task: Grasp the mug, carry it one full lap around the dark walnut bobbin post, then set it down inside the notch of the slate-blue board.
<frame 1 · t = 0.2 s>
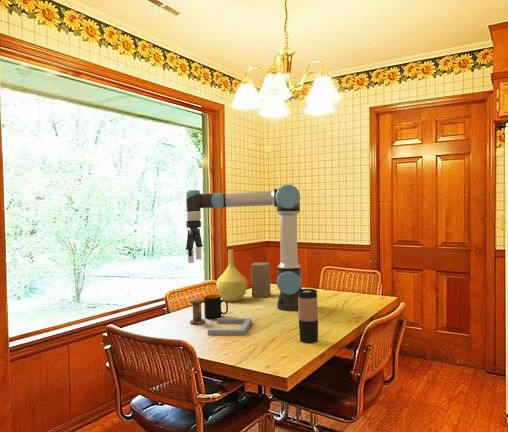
hand: (195, 261, 217), 27 cm above the table, fingers open, 13 cm apart
bobbin post: (197, 322, 199), on the table
notch board: (230, 328, 188), on the table
wooden block: (261, 296, 256), on the table
travel mug: (308, 341, 167), on the table
mug: (216, 317, 208), on the table
vase: (232, 300, 248), on the table
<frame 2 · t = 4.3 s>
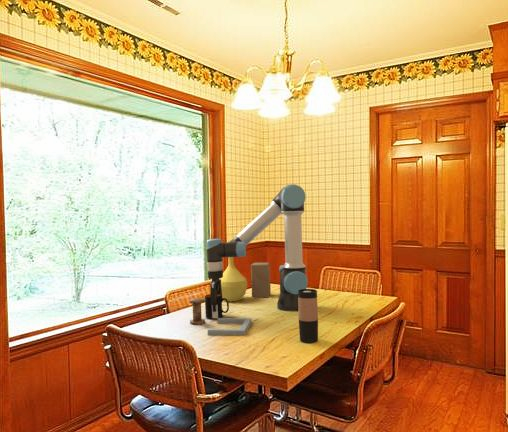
hand: (217, 315, 208), 1 cm above the table, fingers closed on mug, 8 cm apart
mug: (217, 316, 208), on the table, touching gripper
everything else where it was.
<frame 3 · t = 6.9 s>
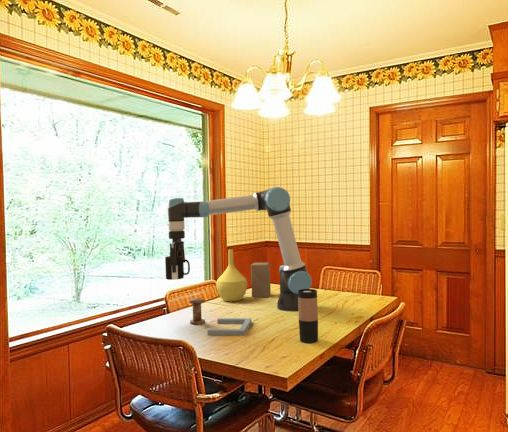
hand: (178, 277, 200), 22 cm above the table, fingers closed on mug, 8 cm apart
mug: (178, 278, 200), point 21 cm above the table, touching gripper
everything else where it was.
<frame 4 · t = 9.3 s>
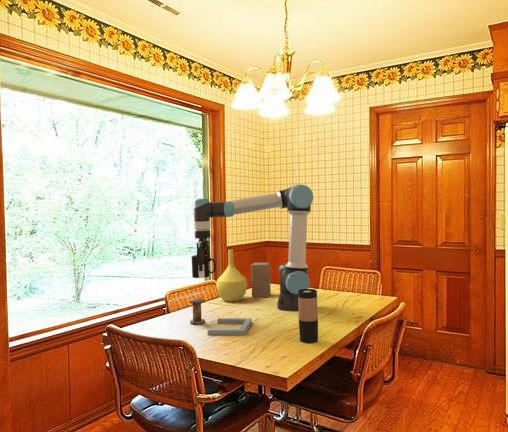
hand: (204, 276, 205), 21 cm above the table, fingers closed on mug, 8 cm apart
mug: (204, 277, 205), point 21 cm above the table, touching gripper
everything else where it was.
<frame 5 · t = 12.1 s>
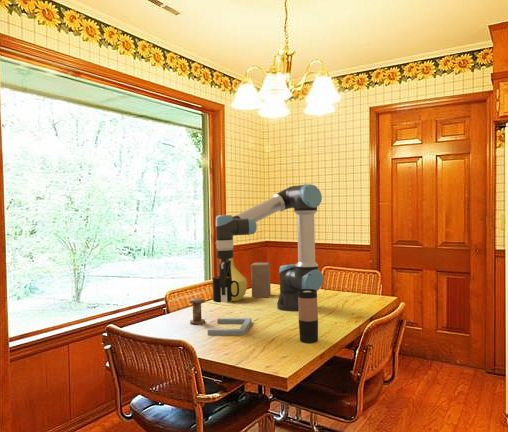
hand: (226, 299, 188), 13 cm above the table, fingers closed on mug, 8 cm apart
mug: (226, 300, 187), point 12 cm above the table, touching gripper
everything else where it was.
when the fingers open (2 cm above the table, at t = 14.4 s): mug drops 2 cm, on the table.
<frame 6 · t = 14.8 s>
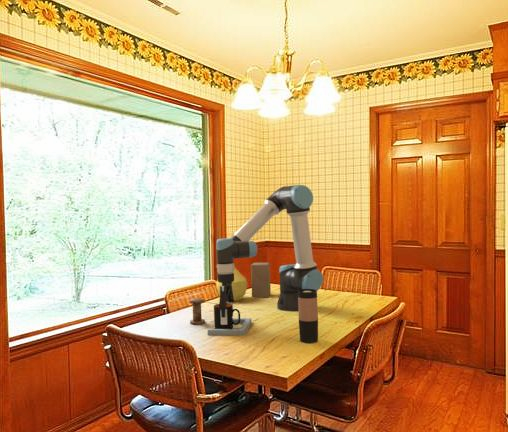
hand: (227, 320, 188), 4 cm above the table, fingers open, 13 cm apart
mug: (227, 328, 188), on the table
everything else where it was.
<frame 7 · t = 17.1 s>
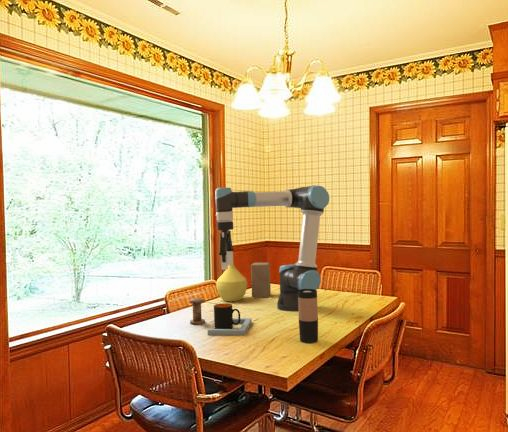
hand: (227, 267, 193), 27 cm above the table, fingers open, 13 cm apart
nothing on the table moved.
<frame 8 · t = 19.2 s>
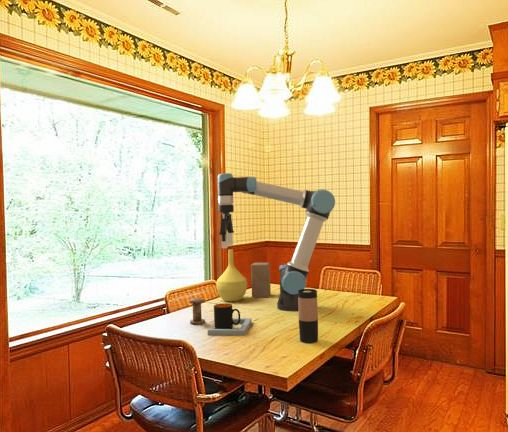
hand: (227, 246, 210), 35 cm above the table, fingers open, 13 cm apart
nothing on the table moved.
at the end: mug inside the target area on the notch board (0.4 cm from its centre), point 0.0 cm above the notch board's base; mug tilted 0°; the gripper is holding nothing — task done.
